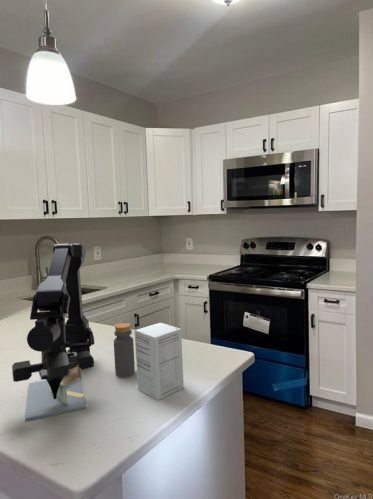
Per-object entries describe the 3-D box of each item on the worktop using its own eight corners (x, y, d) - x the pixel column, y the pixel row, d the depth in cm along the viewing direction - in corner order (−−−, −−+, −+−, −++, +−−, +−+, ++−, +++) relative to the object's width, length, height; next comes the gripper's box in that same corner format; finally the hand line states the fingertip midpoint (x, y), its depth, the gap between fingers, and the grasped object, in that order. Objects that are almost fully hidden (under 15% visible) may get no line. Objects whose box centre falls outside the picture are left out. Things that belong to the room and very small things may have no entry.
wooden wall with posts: (82, 377, 108) (81, 360, 107) (55, 394, 98) (54, 376, 97) (77, 376, 108) (75, 359, 108) (49, 393, 98) (48, 375, 98)
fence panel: (54, 391, 97) (53, 377, 97) (58, 390, 98) (57, 376, 98) (63, 403, 91) (62, 388, 90) (67, 402, 91) (66, 387, 91)
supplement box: (163, 377, 106) (161, 321, 104) (184, 388, 99) (182, 328, 97) (136, 389, 99) (133, 329, 98) (157, 401, 92) (154, 337, 91)
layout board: (80, 375, 109) (80, 373, 109) (87, 407, 90) (87, 405, 90) (29, 385, 104) (29, 382, 104) (24, 421, 85) (24, 418, 85)
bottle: (117, 379, 106) (115, 329, 104) (113, 371, 111) (110, 324, 110) (137, 375, 108) (134, 326, 107) (132, 367, 113) (129, 321, 112)
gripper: (13, 354, 79) (16, 423, 80) (99, 341, 87) (100, 403, 88) (11, 339, 88) (13, 401, 89) (88, 329, 97) (89, 385, 98)
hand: (54, 398), depth 91 cm, fingers closed
